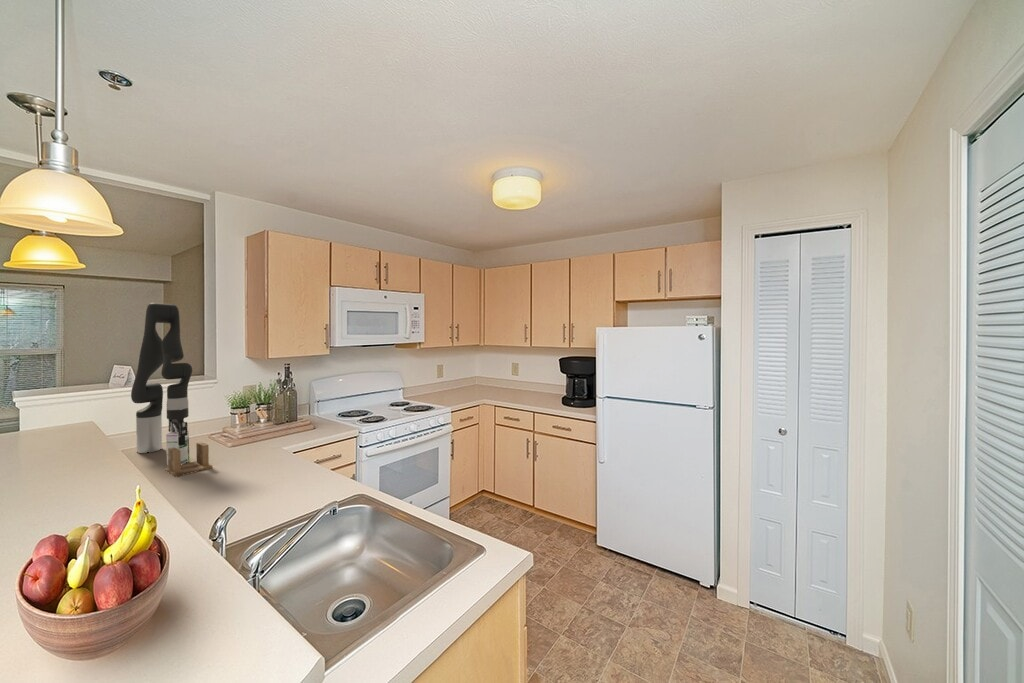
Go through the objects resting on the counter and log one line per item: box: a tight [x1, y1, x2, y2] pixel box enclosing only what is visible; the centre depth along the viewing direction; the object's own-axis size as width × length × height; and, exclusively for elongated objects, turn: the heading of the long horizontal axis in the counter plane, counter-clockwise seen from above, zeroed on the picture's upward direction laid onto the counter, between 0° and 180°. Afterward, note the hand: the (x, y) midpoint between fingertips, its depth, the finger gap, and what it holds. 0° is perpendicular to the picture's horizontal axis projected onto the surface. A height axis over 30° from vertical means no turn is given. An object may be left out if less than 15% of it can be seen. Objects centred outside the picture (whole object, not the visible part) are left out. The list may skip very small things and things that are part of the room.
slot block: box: [164, 441, 213, 478], centre depth 172 cm, size 12×13×10 cm
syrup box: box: [165, 430, 190, 466], centre depth 179 cm, size 6×6×14 cm
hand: (178, 443), depth 178 cm, fingers open, 8 cm apart
